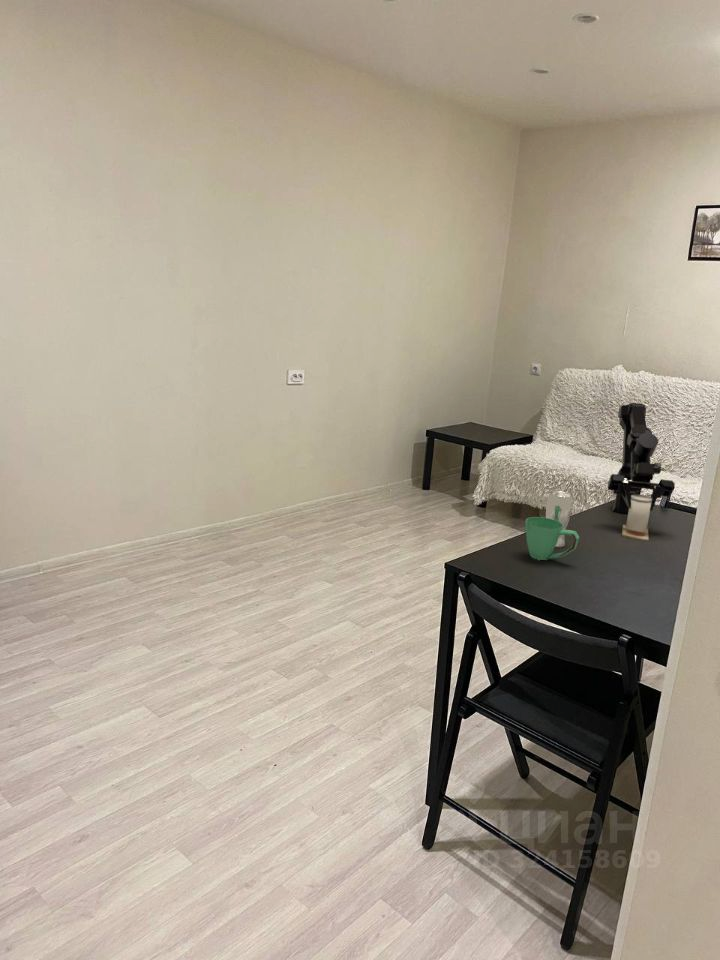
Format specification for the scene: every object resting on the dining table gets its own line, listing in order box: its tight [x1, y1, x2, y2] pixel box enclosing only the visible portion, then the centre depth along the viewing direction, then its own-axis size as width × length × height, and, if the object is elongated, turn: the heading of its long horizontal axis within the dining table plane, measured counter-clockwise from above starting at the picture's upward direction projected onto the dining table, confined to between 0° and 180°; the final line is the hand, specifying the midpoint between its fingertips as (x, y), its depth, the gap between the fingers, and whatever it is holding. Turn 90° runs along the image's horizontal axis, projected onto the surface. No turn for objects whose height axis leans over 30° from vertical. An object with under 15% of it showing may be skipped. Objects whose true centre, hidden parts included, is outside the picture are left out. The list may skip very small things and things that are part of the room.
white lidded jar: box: [625, 494, 652, 532], centre depth 223 cm, size 6×6×10 cm
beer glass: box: [545, 490, 574, 548], centre depth 209 cm, size 7×7×15 cm
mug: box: [524, 516, 580, 561], centre depth 196 cm, size 15×10×10 cm
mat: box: [621, 524, 649, 542], centre depth 226 cm, size 12×8×1 cm, turn 160°
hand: (640, 509), depth 221 cm, fingers closed on white lidded jar, 6 cm apart
